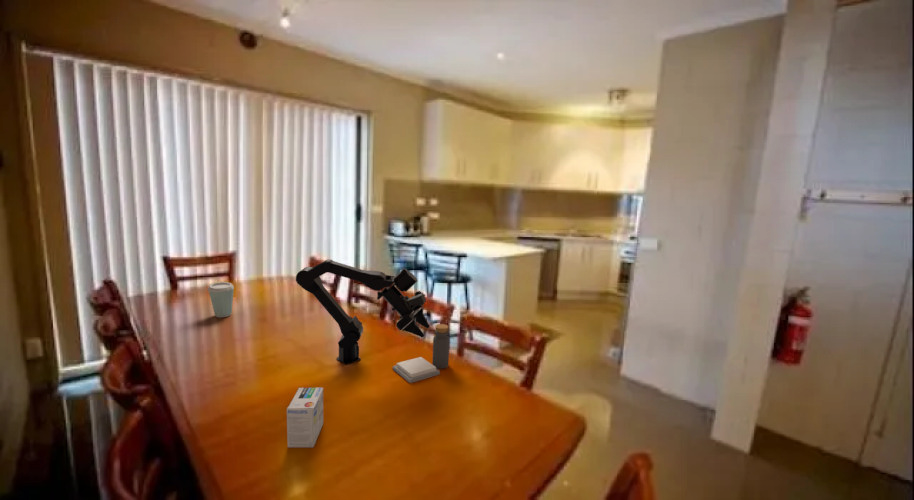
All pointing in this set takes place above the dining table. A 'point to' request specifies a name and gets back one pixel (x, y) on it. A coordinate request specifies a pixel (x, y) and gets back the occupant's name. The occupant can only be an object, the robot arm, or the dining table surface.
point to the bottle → (441, 347)
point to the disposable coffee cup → (221, 298)
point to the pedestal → (416, 369)
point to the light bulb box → (305, 417)
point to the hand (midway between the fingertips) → (426, 331)
